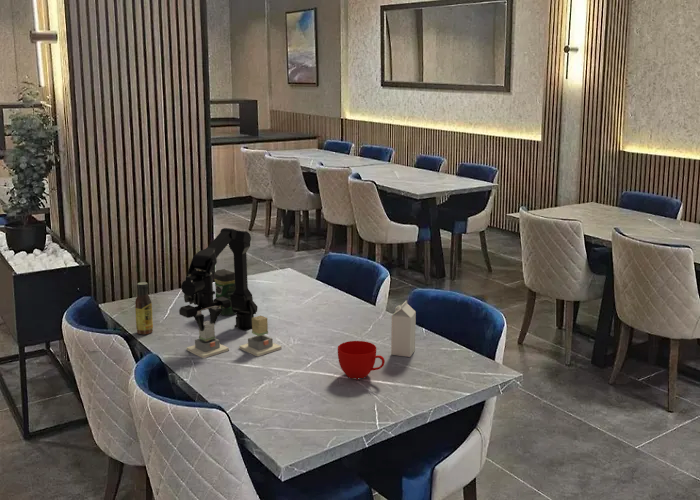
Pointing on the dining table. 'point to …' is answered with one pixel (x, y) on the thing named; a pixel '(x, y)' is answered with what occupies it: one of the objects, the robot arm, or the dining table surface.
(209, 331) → the column
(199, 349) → the stand
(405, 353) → the milk carton
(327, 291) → the dining table surface
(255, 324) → the column
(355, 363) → the ceramic cup
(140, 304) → the sauce bottle
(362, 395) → the dining table surface
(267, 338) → the stand
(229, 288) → the coffee jar
